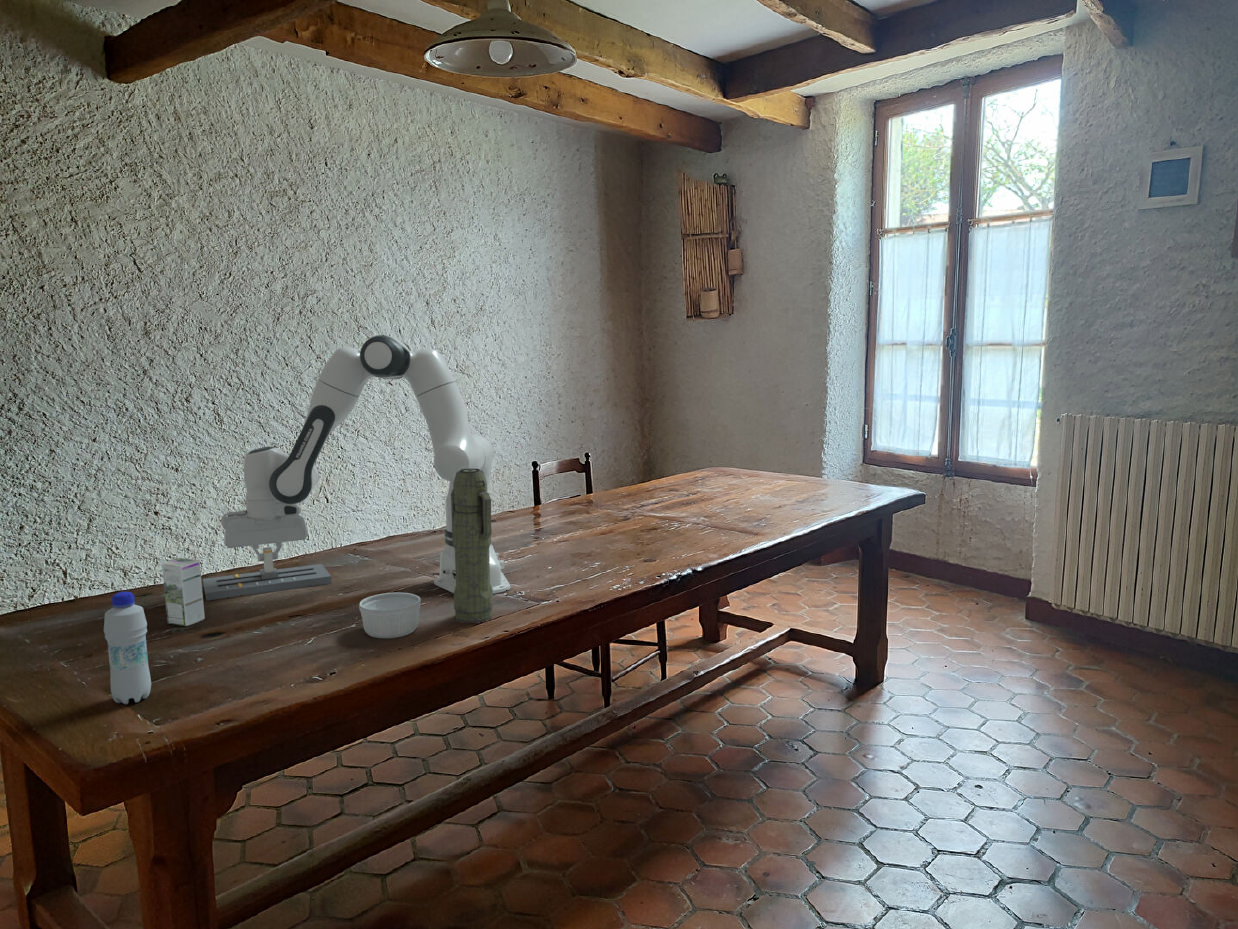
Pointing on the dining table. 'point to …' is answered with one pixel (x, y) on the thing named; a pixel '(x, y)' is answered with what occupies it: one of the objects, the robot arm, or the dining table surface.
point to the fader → (268, 565)
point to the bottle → (127, 649)
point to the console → (265, 582)
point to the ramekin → (390, 614)
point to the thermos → (471, 546)
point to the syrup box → (183, 591)
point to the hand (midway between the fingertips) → (268, 559)
